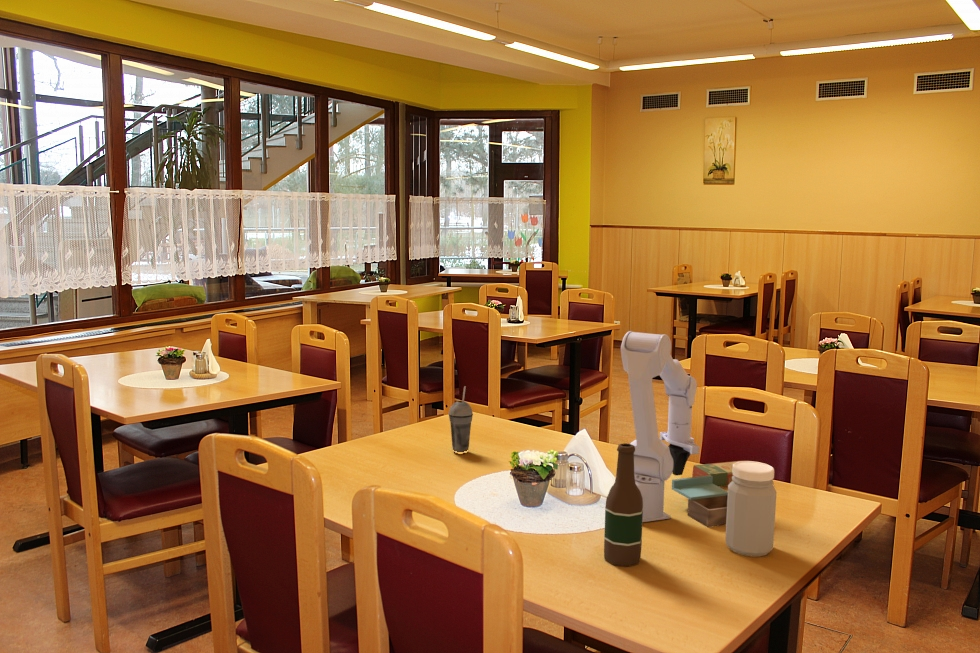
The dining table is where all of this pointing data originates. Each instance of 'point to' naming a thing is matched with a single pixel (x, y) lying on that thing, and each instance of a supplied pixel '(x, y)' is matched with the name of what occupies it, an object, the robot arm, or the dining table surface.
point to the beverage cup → (460, 424)
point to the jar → (751, 509)
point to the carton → (716, 472)
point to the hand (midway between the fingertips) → (677, 474)
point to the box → (709, 510)
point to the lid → (697, 487)
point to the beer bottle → (624, 513)
